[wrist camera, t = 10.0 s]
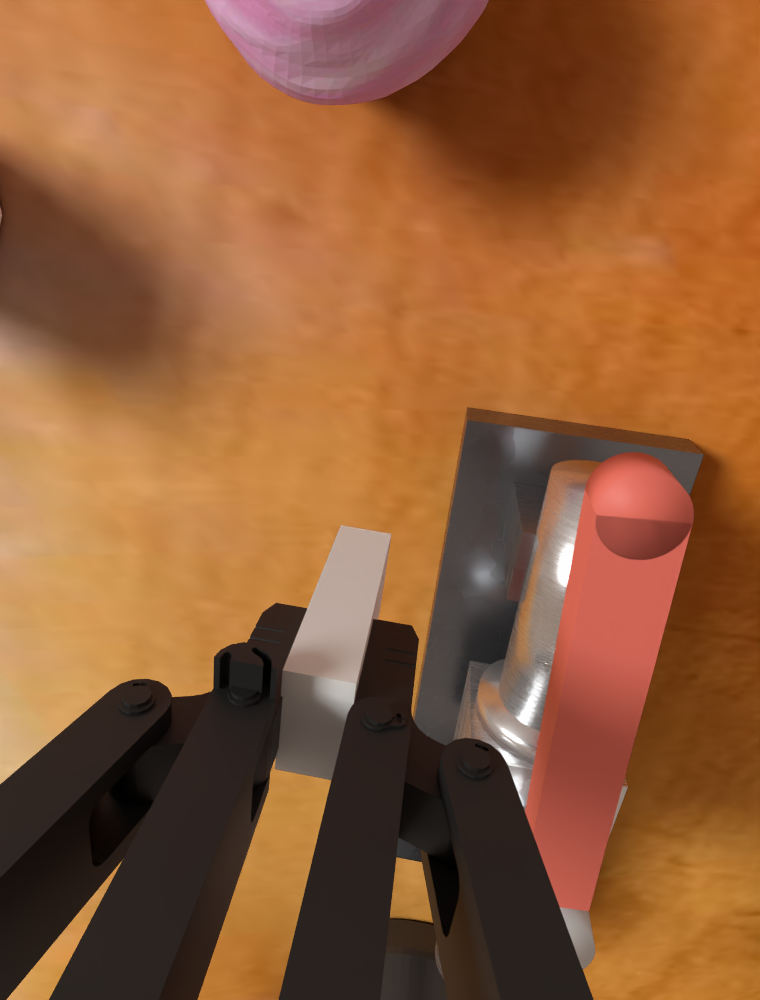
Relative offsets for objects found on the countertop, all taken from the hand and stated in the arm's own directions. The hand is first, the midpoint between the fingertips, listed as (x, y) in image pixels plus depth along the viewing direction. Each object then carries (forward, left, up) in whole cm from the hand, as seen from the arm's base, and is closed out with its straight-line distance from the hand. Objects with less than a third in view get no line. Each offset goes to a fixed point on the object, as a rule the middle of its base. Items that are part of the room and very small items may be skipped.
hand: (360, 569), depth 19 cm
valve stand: (-12, -8, -13) cm, 19 cm away
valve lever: (-4, -7, 0) cm, 8 cm away
